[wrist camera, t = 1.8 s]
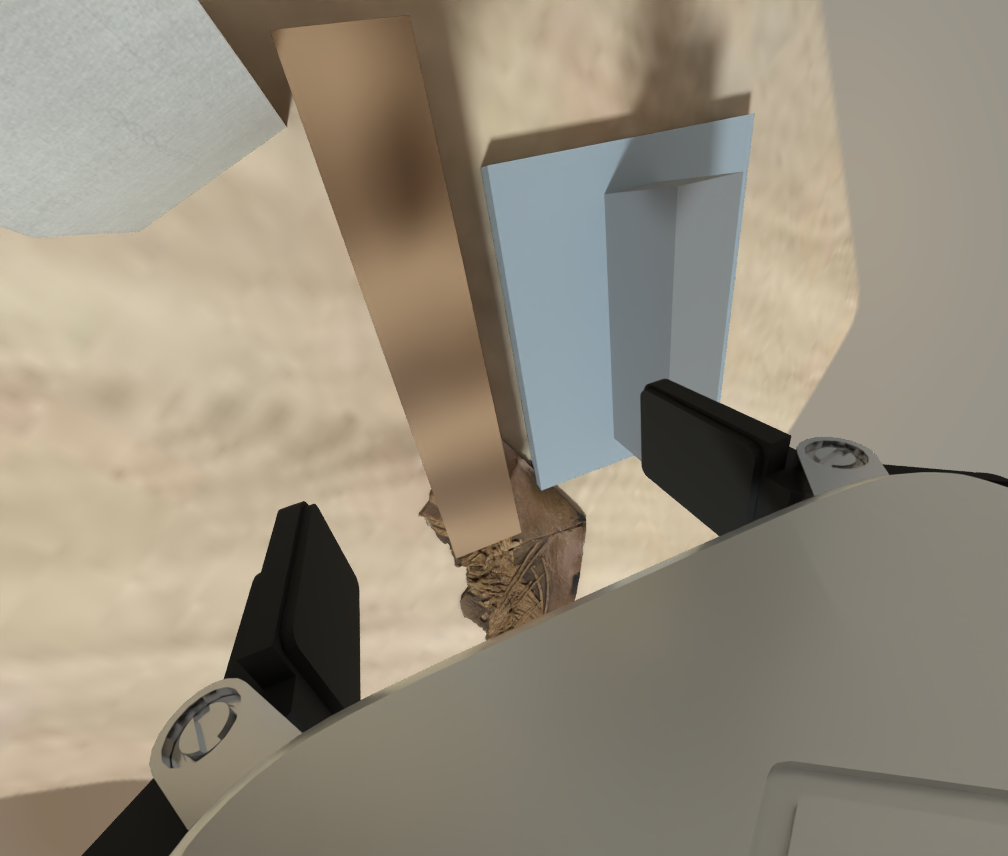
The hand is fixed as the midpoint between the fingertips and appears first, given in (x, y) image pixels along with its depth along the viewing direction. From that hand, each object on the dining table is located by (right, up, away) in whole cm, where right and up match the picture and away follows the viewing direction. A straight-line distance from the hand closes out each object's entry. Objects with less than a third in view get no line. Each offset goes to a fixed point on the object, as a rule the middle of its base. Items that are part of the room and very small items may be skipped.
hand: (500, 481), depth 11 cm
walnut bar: (-4, +6, +9) cm, 12 cm away
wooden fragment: (+2, -9, +20) cm, 22 cm away
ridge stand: (+7, +8, +12) cm, 16 cm away
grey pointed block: (-12, +12, +3) cm, 17 cm away
